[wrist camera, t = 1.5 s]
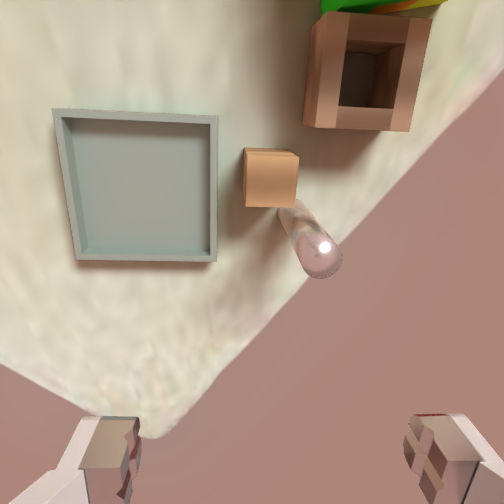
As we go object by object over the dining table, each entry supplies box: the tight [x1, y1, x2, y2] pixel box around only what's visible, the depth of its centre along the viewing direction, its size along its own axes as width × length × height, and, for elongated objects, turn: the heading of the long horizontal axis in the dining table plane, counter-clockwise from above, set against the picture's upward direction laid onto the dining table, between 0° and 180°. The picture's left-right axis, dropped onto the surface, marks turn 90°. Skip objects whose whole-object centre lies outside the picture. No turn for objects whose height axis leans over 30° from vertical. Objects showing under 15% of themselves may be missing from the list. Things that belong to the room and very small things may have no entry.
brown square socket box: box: [302, 11, 432, 132], centre depth 28 cm, size 8×8×5 cm
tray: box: [52, 108, 218, 262], centre depth 31 cm, size 13×13×2 cm
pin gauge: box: [278, 199, 343, 279], centre depth 29 cm, size 3×3×12 cm
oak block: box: [243, 148, 299, 208], centre depth 30 cm, size 4×4×6 cm
